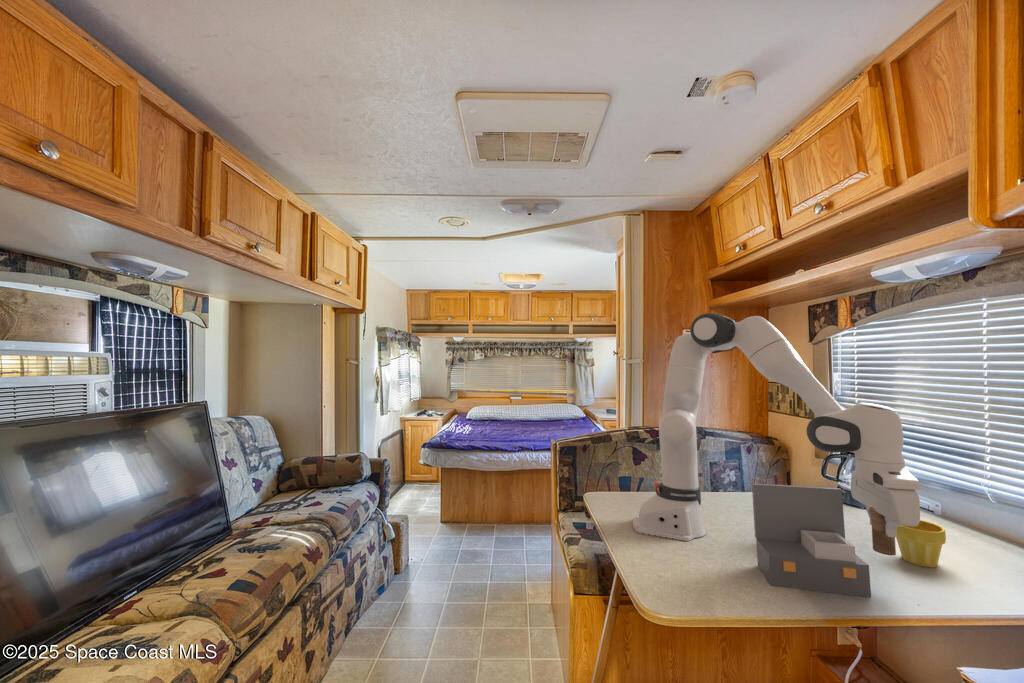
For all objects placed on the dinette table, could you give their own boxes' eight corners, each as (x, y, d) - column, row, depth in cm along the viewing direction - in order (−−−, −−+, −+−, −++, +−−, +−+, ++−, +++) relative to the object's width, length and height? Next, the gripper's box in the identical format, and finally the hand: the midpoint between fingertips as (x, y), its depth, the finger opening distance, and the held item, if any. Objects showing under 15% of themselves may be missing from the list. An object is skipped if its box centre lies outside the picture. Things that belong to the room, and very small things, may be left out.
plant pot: (960, 573, 101) (956, 533, 101) (909, 568, 103) (906, 529, 104) (930, 555, 111) (926, 518, 111) (884, 551, 113) (881, 515, 114)
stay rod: (879, 554, 93) (876, 510, 94) (869, 546, 97) (866, 504, 98) (900, 556, 92) (897, 511, 93) (889, 548, 96) (886, 506, 97)
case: (771, 586, 96) (766, 496, 97) (756, 563, 107) (751, 483, 109) (872, 598, 90) (865, 503, 92) (845, 572, 102) (839, 488, 103)
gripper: (841, 461, 107) (844, 514, 106) (889, 482, 87) (893, 547, 86) (870, 462, 105) (873, 516, 104) (926, 484, 85) (930, 551, 85)
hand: (882, 531), depth 95 cm, fingers closed on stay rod, 4 cm apart
